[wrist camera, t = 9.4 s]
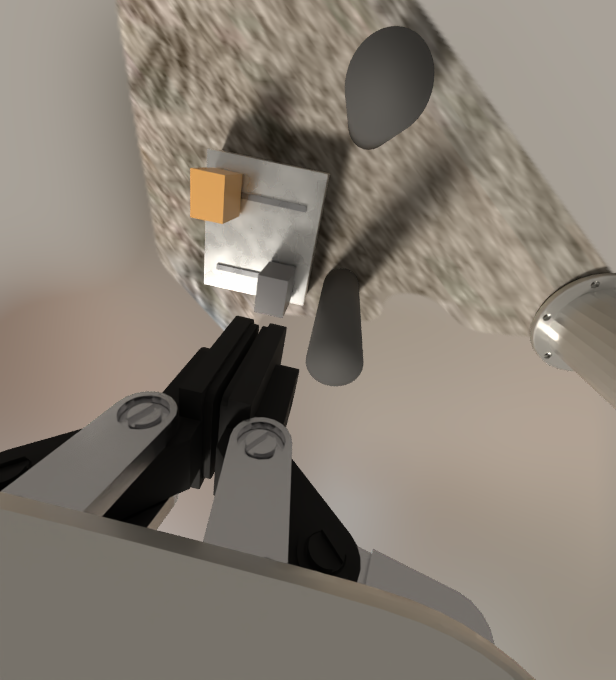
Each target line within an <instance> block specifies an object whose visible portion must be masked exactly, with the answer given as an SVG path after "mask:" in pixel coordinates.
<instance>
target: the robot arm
mask: <svg viewBox="0 0 616 680" xmlns="http://www.w3.org/2000/svg"><path fill="white" fill-rule="evenodd" d="M258 332H259V325H257V324H254V320H253V319H250V318H245V317H241V316H236V317H235V318H234V319H233V321H232V322H231V323H230V324H229V326H228V327H227V328H226V329H225V331H224V332H223V333H222V334H221V336H220V337H219V338H218V339H217V341H216V342H215V343H214V344H213V346H212V347H211V348H210V349H209V348H205V347H202V348H201V349H200V350H199V351H198V352H197V353H196V354H195V355H194V356H193V358H192V359H191V360H190V361H189V362H188V363H187V365H186V366H185V367H184V368H183V369H182V370H181V372H180V373H179V374H178V375H177V376H176V378H175V379H174V380H173V381H172V382H171V383H170V384H169V386H168V387H167V388H166V389H165V390H164V391H163V393H159V392H140V393H135V394H132V395H130V396H127V397H125V398H123V399H122V400H120V401H118V402H117V403H116V404H114V405H113V406H112V407H111V408H109V409H108V410H107V411H105V412H104V413H103V414H101V415H100V416H99V417H97V418H96V419H95V420H93V421H92V422H91V423H90V424H88V425H87V426H86V427H84V428H83V429H80V430H76V431H72V432H69V433H65V434H62V435H58V436H55V437H51V438H48V439H44V440H41V441H37V442H34V443H30V444H26V445H23V446H20V447H16V448H12V449H9V450H6V451H3V452H0V680H536V679H534V677H532V676H531V675H530V674H529V673H528V672H527V671H526V670H525V669H523V668H522V667H521V666H520V665H519V664H518V663H517V662H516V661H515V660H513V659H512V658H511V657H509V656H508V655H507V654H505V653H504V652H503V651H502V650H500V649H499V648H497V647H496V646H495V645H494V641H493V637H492V633H491V630H490V627H489V625H488V624H487V622H486V620H485V618H484V616H483V615H482V613H481V612H480V611H479V610H478V608H477V607H476V606H475V605H474V604H473V602H472V601H471V600H469V599H468V598H466V597H465V596H464V595H462V594H461V593H459V592H458V591H456V590H454V589H452V588H449V587H447V586H446V585H444V584H442V583H440V582H438V581H436V580H434V579H432V578H430V577H428V576H426V575H424V574H422V573H420V572H418V571H416V570H414V569H412V568H410V567H408V566H406V565H404V564H402V563H400V562H398V561H396V560H394V559H392V558H390V557H388V556H386V555H384V554H382V553H380V552H378V551H376V550H374V549H373V550H372V552H371V553H370V552H368V551H366V550H364V549H362V548H360V547H358V546H357V545H356V543H355V541H354V539H353V538H352V536H351V534H350V533H349V532H348V531H347V529H346V528H345V527H344V525H343V524H342V523H341V521H340V520H339V519H338V518H337V516H336V515H335V514H334V512H333V511H332V510H331V509H330V507H329V506H328V505H327V503H326V502H325V501H324V499H323V498H322V497H321V496H320V494H319V493H318V492H317V490H316V489H315V488H314V487H313V485H312V484H311V483H310V481H309V480H308V479H307V478H306V476H305V475H304V474H303V472H302V471H301V470H300V469H299V467H298V466H297V465H296V463H295V462H294V461H293V459H292V439H291V435H290V433H289V431H288V430H287V428H286V425H287V421H288V417H289V414H290V410H291V406H292V402H293V398H294V393H295V389H296V384H297V379H298V375H299V369H296V368H291V367H287V366H283V365H281V359H282V353H283V347H284V341H285V336H286V327H284V326H280V325H276V324H269V326H268V327H265V326H263V327H262V328H261V330H260V332H259V334H258ZM530 341H531V344H532V347H533V349H534V351H535V352H536V354H537V355H538V356H539V357H540V358H541V359H542V360H543V361H544V362H546V363H547V364H548V365H550V366H552V367H555V368H557V369H561V370H566V371H575V372H576V373H577V374H578V375H579V376H580V377H581V378H582V379H583V380H584V381H585V382H587V384H589V385H590V386H591V387H592V388H593V389H594V390H595V391H596V392H597V393H598V394H599V395H600V396H602V397H603V398H604V399H605V400H606V401H607V402H608V403H609V404H610V405H611V406H612V407H613V408H614V409H615V410H616V273H603V274H596V275H591V276H587V277H584V278H581V279H578V280H576V281H574V282H572V283H569V284H568V285H566V286H564V287H563V288H561V289H559V290H558V291H557V292H556V293H554V294H553V295H552V296H551V297H549V298H548V299H547V301H546V302H545V303H544V304H543V305H542V306H541V307H540V309H539V310H538V312H537V313H536V315H535V317H534V320H533V322H532V325H531V330H530ZM214 472H215V479H214V496H215V497H214V502H213V505H212V509H211V513H210V517H209V521H208V524H207V528H206V532H205V536H204V540H203V542H200V541H197V540H193V539H189V538H185V537H181V536H177V535H173V534H169V533H165V532H161V531H157V529H158V527H159V526H160V524H161V523H162V522H163V520H164V519H165V518H166V516H167V515H168V513H169V512H170V511H171V509H172V508H173V507H174V505H175V503H176V501H177V499H178V496H179V493H181V492H183V491H185V490H187V489H190V487H192V488H196V489H200V487H201V485H202V483H203V481H204V479H205V478H209V479H211V478H212V476H213V474H214Z"/></svg>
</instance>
